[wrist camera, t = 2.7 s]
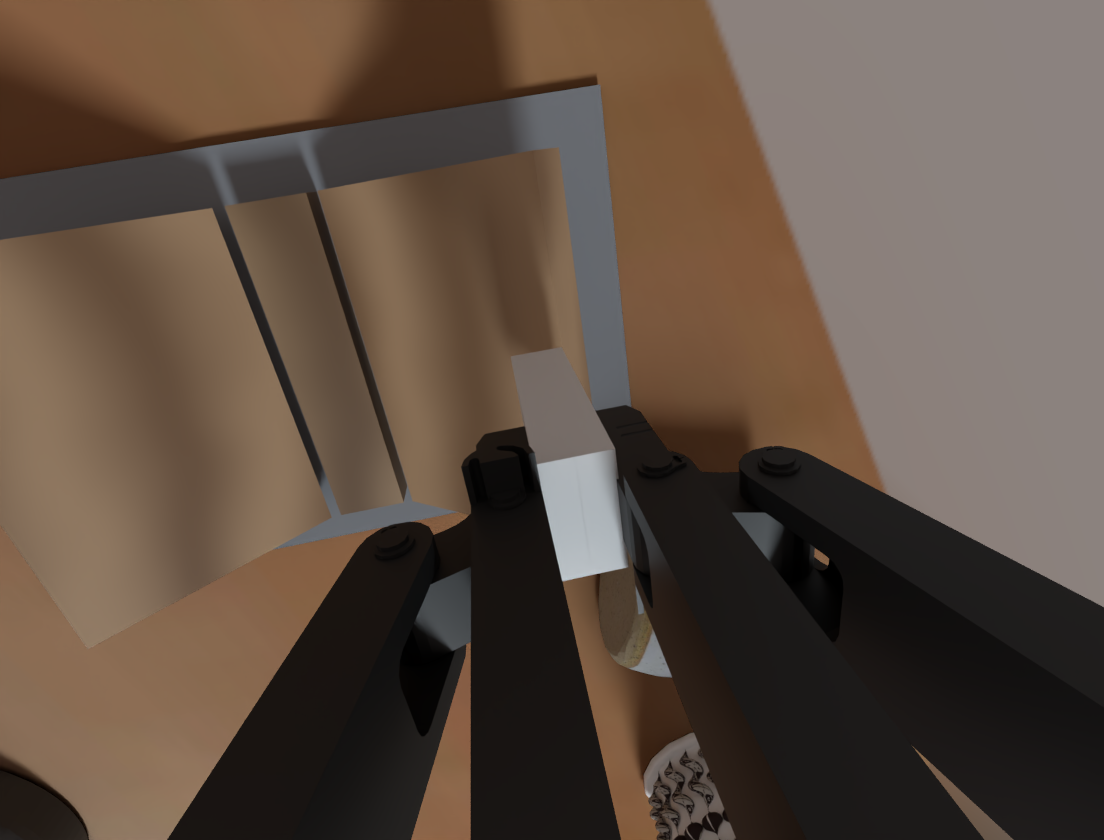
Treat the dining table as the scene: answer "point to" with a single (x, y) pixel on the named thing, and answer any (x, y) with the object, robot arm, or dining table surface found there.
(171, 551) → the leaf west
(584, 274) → the underlay mat
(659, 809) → the decorative candle
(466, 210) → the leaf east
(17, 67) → the dining table surface
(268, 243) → the centre strip
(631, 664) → the ceramic mug
